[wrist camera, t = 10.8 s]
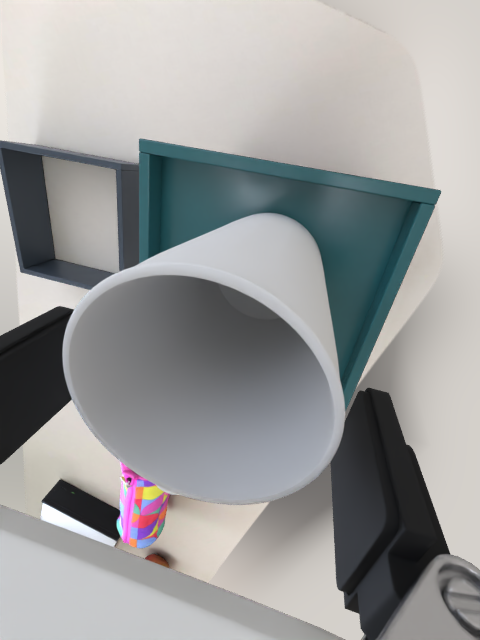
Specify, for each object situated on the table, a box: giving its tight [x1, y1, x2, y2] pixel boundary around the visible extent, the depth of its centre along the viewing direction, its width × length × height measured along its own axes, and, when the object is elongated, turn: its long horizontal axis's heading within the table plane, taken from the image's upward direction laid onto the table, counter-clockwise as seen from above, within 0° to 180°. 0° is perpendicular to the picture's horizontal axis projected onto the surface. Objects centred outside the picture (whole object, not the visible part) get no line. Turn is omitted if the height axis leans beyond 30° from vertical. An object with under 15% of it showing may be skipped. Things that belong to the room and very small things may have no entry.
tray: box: [139, 139, 441, 412], centre depth 18 cm, size 14×14×2 cm
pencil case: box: [117, 462, 170, 548], centre depth 52 cm, size 22×9×9 cm, turn 169°
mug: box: [62, 213, 345, 505], centre depth 13 cm, size 10×7×12 cm, turn 160°
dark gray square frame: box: [0, 141, 139, 290], centre depth 34 cm, size 14×14×5 cm
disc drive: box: [40, 480, 120, 547], centre depth 68 cm, size 18×22×5 cm
